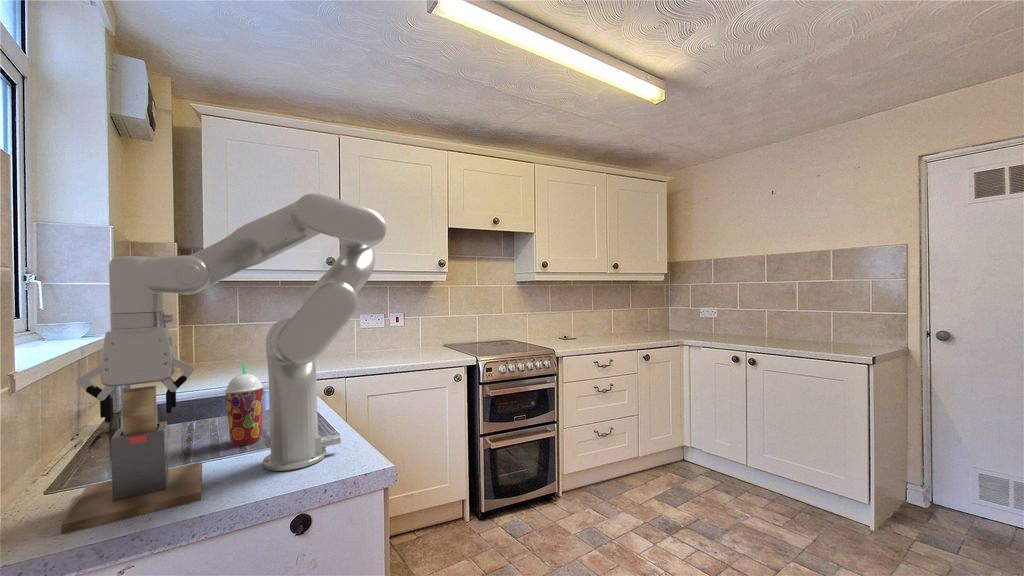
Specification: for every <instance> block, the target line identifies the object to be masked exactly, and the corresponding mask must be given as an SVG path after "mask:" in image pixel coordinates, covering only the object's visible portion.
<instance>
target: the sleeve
mask: <svg viewBox="0 0 1024 576" xmlns="http://www.w3.org/2000/svg"><path fill="white" fill-rule="evenodd" d="M168 438H169V437H168V421H165V420H164V421H158V422H157V430H154V431H148V432H142V433H136V434H130V435H123V427H120V428H118V429H117V430H116V431H115V432H114V434H113V435H112V437H111V438H110V448H111V449H110V451H111V453H110V454H111V480H112V495H113V502H114V501H118V500H123V499H127V498H132V497H136V496H140V495H145V494H149V493H154V492H158V491H163V490H166V486H167V482H168V477H169V471H168V469H169V446H168V442H169V440H168Z"/></svg>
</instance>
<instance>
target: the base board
mask: <svg viewBox="0 0 1024 576" xmlns="http://www.w3.org/2000/svg"><path fill="white" fill-rule="evenodd" d="M168 471H169V477H168V482H167V486H166V490H163V491H158V492H154V493H149V494H145V495H140V496H136V497H132V498H127V499H123V500H118V501H114V502H113V495H112V479H111V480H106V481H102V482H101V481H100V482H96V483H93V484H87V485H86V486H85V488H84V490H83V491H82V492H81V493H80V496H79V497H78V499H76V501H75V503H74V505H73V506H72V507H71V509H70V511H69V512H68V513H67V516H66V517H65V519H64V520H63V521H62V523H61V524H60V525H61V526H60V528H61V529H60V530H61V535H64V534H69V533H71V532H77V531H80V530H85V529H88V528H92V527H97V526H100V525H105V524H109V523H113V522H118V521H122V520H125V519H129V518H133V517H137V516H141V515H142V516H143V515H146V514H150V513H153V512H158V511H162V510H165V509H169V508H174V507H178V506H183V505H186V504H190V503H195V502H198V501H202V487H203V485H202V484H203V483H202V482H203V479H202V478H203V461H200V462H199V461H198V462H195V463H194V462H193V463H189V464H184V465H180V466H175V467H170V468H169V467H168Z"/></svg>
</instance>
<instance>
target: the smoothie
mask: <svg viewBox="0 0 1024 576" xmlns="http://www.w3.org/2000/svg"><path fill="white" fill-rule="evenodd" d="M246 369H247V367H246V362H242V374H239V375H237V376H235V377H233V378H232V379H231V380H230V381H229V383H228V385H227V387H226V389H225V390H224V393H225V401H226V410H227V411H226V413H227V419H228V428H229V439H230V441H232V445H233V446H237V447H242V446H249V445H252V444H255V443H257V442H259V440H260V437H261V435H262V434H263V433H262V432H263V428H262V427H263V408H264V407H263V405H264V384H263V383H262V382H261V380H260V378H258V377H257V376H256V375H255V374H251V373H246Z"/></svg>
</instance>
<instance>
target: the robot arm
mask: <svg viewBox="0 0 1024 576" xmlns="http://www.w3.org/2000/svg"><path fill="white" fill-rule="evenodd" d="M320 234H322V235H326V236H329V237H333V238H337V239H338V242H339V246H340V251H339V252H340V253H339V256H338V258H337V259H336V261H334V263H333V264H332V265H331V266H330V268H329V269H328V270H327V271H326V272H325V273H324V274H323V275H322V276H321V277H320V278H319V279H318V280H317V281H316V283H314V284H313V285H312V286H311V287H310V288H309V289H308V290H307V291H306V293H305V295H304V297H303V302H302V306H301V307H299V309H298V310H296V312H295V313H294V314H293V315H292V317H287V318H286V317H285V318H282V319H280V320H278V321H276V322H275V323H274V324H273V325H272V326H271V327H270V328H269V330H268V332H267V334H266V338H265V354H266V362H267V363H266V364H267V375H268V402H269V403H268V405H269V406H268V407H269V435H270V436H269V439H270V441H269V442H270V454H268V455H266V456H265V457H264V458H263V460H262V467H263V468H264V469H266V470H267V471H276V472H277V471H278V472H280V471H281V472H282V471H291V470H298V469H302V468H305V467H309V466H311V465H314V464H316V463H319V462H320V461H321V460H324V458H325V457H326V456H327V449H326V448H327V447H329V446H336V445H340V444H341V441H342V439H341V435H333V434H329V435H325V436H322V435H320V434H319V423H318V422H319V421H318V394H317V393H318V389H317V387H318V386H317V385H318V383H317V367H316V360H317V359H318V358H319V357H320V356H321V355H322V354H323V353H324V352H325V350H326V349H328V347H329V346H330V345H331V344H332V343H333V341H334V340H335V339H336V338H337V337H338V336H339V335H340V334H341V332H342V331H343V330H344V328H346V326H347V325H348V323H350V322H351V320H352V319H353V317H354V315H355V314H356V311H357V309H358V303H359V301H358V293H359V292H360V290H361V289H362V288H363V287H364V286H365V284H366V283H367V281H368V280H369V279H370V277H371V276H372V274H373V271H374V268H375V263H376V257H375V255H376V254H375V248H374V246H376V245H378V244H380V243H381V242H382V241H383V240H384V238H385V236H386V234H387V224H386V221H385V220H384V218H383V217H382V216H381V214H379V213H378V212H377V211H375V210H374V209H370V208H368V207H365V206H361V205H358V204H355V203H351V202H348V201H345V200H342V199H338V198H336V197H335V198H334V197H332V196H329V195H328V196H327V195H325V194H320V193H307V194H304V195H303V196H301V197H300V198H299V199H297V200H296V201H295V202H292V203H291V204H288V205H286V206H284V207H282V208H279V209H277V210H275V211H273V212H270V213H269V214H266V215H264V216H261V217H259V218H256V219H254V220H252V221H249V222H247V223H246V224H243V225H242V226H240V227H238V228H237V229H235V230H234V231H233V232H232V233H230V234H229V235H227V236H226V237H224V238H222V239H221V240H219V241H217V242H215V243H213V244H212V245H210V246H207V247H205V248H202V249H201V250H198V251H196V252H194V253H191V254H190V255H175V256H165V257H152V256H142V255H140V256H139V255H135V256H134V255H125V256H116V257H114V258H113V257H112V259H111V260H110V261H109V263H108V273H109V274H108V279H109V281H108V282H109V283H108V284H109V286H108V287H109V310H110V311H109V315H110V320H109V321H110V331H106V332H105V336H104V339H103V344H102V351H101V352H102V353H101V364H100V365H98V366H97V367H95V368H93V369H92V370H90V371H88V372H86V373H85V374H83V375H81V376H80V377H78V378H77V379H76V383H77V384H78V386H80V388H82V390H85V392H86V393H87V394H89V395H91V396H92V397H94V398H96V399H97V401H99V411H100V413H99V414H100V418H101V419H103V418H104V423H110V422H111V421H112V420H113V419H114V398H113V397H112V396H111V393H112V392H113V391H114V390H115V388H116V387H122V386H123V387H125V386H132V385H133V386H134V385H140V384H149V383H150V384H151V383H158V382H161V384H163V386H164V387H165V388H166V392H165V410H166V411H165V412H166V414H172V411H173V409H174V408H177V390H178V389H179V388H180V387H181V386H183V384H184V383H185V382H186V381H187V380H188V379H189V377H190V376H191V375H192V373H193V372H194V371H195V367H194V365H192V364H189V363H187V362H184V361H182V360H180V359H178V358H176V357H174V351H173V342H172V337H171V332H170V329H169V327H164V324H165V325H166V323H172V322H174V320H173V314H168V313H167V314H166V313H164V304H163V301H164V297H163V296H164V295H163V293H165V294H166V293H168V294H169V293H170V294H178V295H189V296H190V295H194V294H197V293H200V292H202V291H204V290H205V289H207V288H209V287H211V286H214V285H215V284H216V283H220V282H221V281H223V280H226V279H228V278H229V277H231V276H234V275H235V274H237V273H239V272H241V271H244V270H246V269H249V268H252V267H255V266H257V265H260V264H262V263H264V262H266V261H269V260H270V259H271V260H272V258H275V257H276V256H278V255H281V254H283V253H284V252H286V251H288V250H290V249H293V248H295V247H297V246H298V245H301V244H302V243H304V242H307V241H308V240H310V239H313V238H314V237H317V236H318V235H320ZM175 368H178V369H180V370H182V374H180V376H179V377H178V378H177V379H176V380H174V379H173V378H172V376H173V374H174V372H175V371H174V370H175ZM99 375H100V378H101V379H100V380H101V384H102V385H103V386H104V387H103V389H102V388H100V387H99V386H98V385H95V384H94V383H93V382H92V379H93V378H95V377H97V376H99Z"/></svg>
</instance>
